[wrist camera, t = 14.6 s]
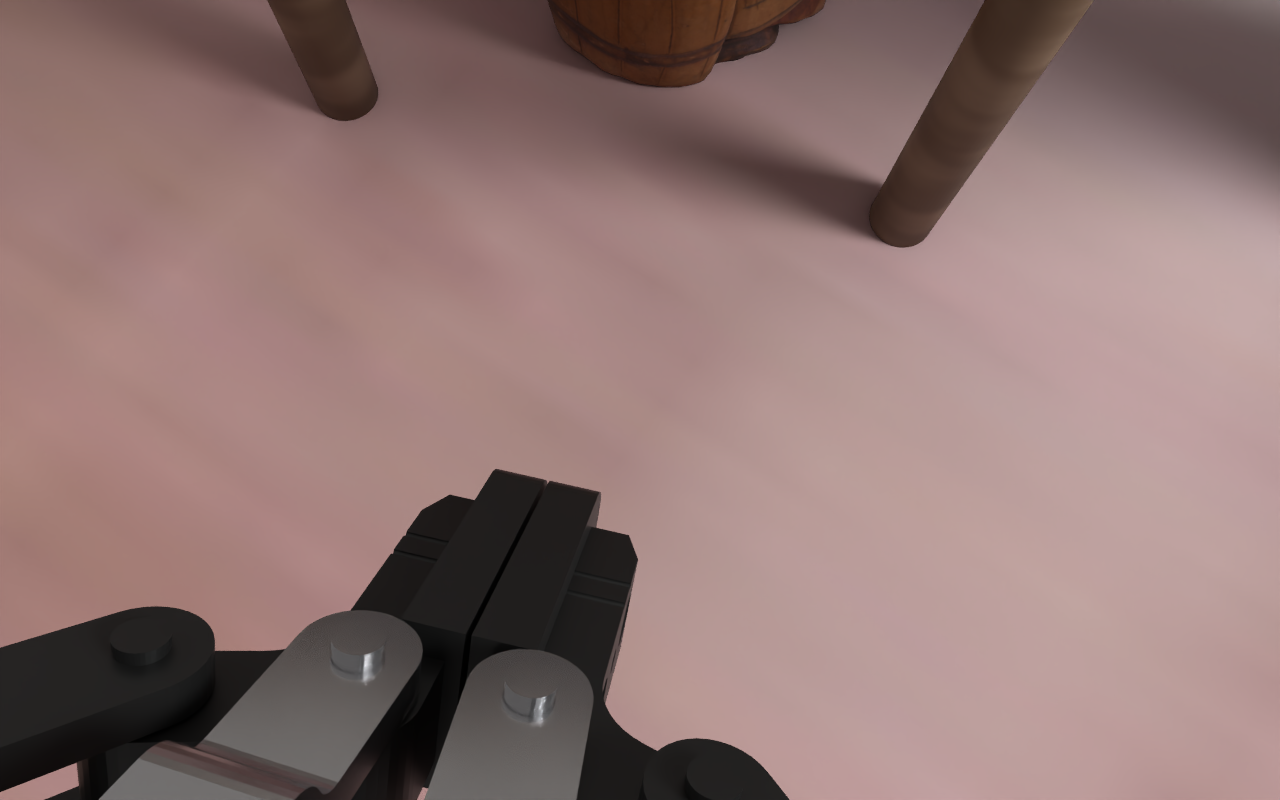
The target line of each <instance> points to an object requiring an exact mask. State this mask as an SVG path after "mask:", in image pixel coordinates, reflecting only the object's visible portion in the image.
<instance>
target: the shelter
mask: <svg viewBox="0 0 1280 800" xmlns="http://www.w3.org/2000/svg"><path fill="white" fill-rule="evenodd" d="M1093 1H1094V0H985V1H984V3H983V5H982V7H981V9H980V10H979V12H978V14H977V16H976V18H975V19H974V21H973V23H972V25H971V27H970V28H969V30H968V32H967V34H966V36H965V38H964V39H963V41H962V43H961V45H960V47H959V48H958V50H957V52H956V54H955V56H954V57H953V59H952V61H951V63H950V65H949V66H948V68H947V70H946V72H945V74H944V76H943V77H942V79H941V81H940V83H939V85H938V86H937V88H936V90H935V92H934V94H933V95H932V97H931V99H930V101H929V103H928V105H927V106H926V108H925V110H924V112H923V114H922V115H921V117H920V119H919V121H918V123H917V124H916V126H915V128H914V130H913V132H912V134H911V135H910V137H909V139H908V141H907V143H906V144H905V146H904V148H903V150H902V152H901V153H900V155H899V157H898V159H897V161H896V163H895V164H894V166H893V168H892V170H891V172H890V173H889V175H888V177H887V179H886V181H885V182H884V184H883V186H882V188H881V190H880V192H879V193H878V195H877V197H876V199H875V201H874V202H873V204H872V206H871V209H870V214H869V219H870V224H871V227H872V229H873V231H874V232H875V234H876V235H877V236H878V237H879V238H880V239H881V240H883V241H884V242H886V243H887V244H890V245H892V246H896V247H911V246H914V245H916V244H918V243H920V242H922V241H923V240H924V239H925V238H926V237H927V235H928V234H929V232H930V231H931V230H932V228H933V227H934V225H935V224H936V223H937V221H938V220H939V218H940V217H941V215H942V214H943V213H944V211H945V210H946V208H947V207H948V206H949V204H950V203H951V201H952V200H953V199H954V197H955V196H956V194H957V193H958V192H959V190H960V189H961V187H962V186H963V184H964V183H965V182H966V180H967V179H968V177H969V176H970V175H971V173H972V172H973V170H974V169H975V168H976V166H977V165H978V163H979V162H980V160H981V159H982V158H983V156H984V155H985V153H986V152H987V151H988V149H989V148H990V146H991V145H992V144H993V142H994V141H995V139H996V138H997V136H998V135H999V134H1000V132H1001V131H1002V129H1003V128H1004V127H1005V125H1006V124H1007V122H1008V121H1009V120H1010V118H1011V117H1012V115H1013V114H1014V112H1015V111H1016V110H1017V108H1018V107H1019V105H1020V104H1021V103H1022V101H1023V100H1024V98H1025V97H1026V96H1027V94H1028V93H1029V91H1030V90H1031V89H1032V87H1033V86H1034V84H1035V83H1036V81H1037V80H1038V79H1039V77H1040V76H1041V74H1042V73H1043V72H1044V70H1045V69H1046V67H1047V66H1048V65H1049V63H1050V62H1051V60H1052V59H1053V57H1054V56H1055V55H1056V53H1057V52H1058V50H1059V49H1060V48H1061V46H1062V45H1063V43H1064V42H1065V41H1066V39H1067V38H1068V36H1069V35H1070V33H1071V32H1072V31H1073V29H1074V28H1075V26H1076V25H1077V24H1078V22H1079V21H1080V19H1081V18H1082V17H1083V15H1084V14H1085V12H1086V11H1087V10H1088V8H1089V7H1090V5H1091V4H1092V2H1093ZM268 3H269V5H270V7H271V9H272V11H273V13H274V15H275V17H276V19H277V21H278V23H279V25H280V28H281V30H282V32H283V34H284V36H285V38H286V40H287V42H288V44H289V46H290V48H291V50H292V52H293V55H294V57H295V59H296V61H297V63H298V65H299V67H300V69H301V71H302V73H303V75H304V77H305V79H306V82H307V84H308V86H309V88H310V90H311V92H312V94H313V96H314V98H315V100H316V102H317V104H318V106H319V108H320V109H321V111H322V112H323V113H324V114H326V115H327V116H329V117H331V118H333V119H336V120H342V121H348V120H354V119H357V118H360V117H362V116H364V115H365V114H367V113H368V112H369V111H370V110H371V109H372V108H373V106H374V105H375V103H376V101H377V97H378V88H377V84H376V82H375V79H374V76H373V73H372V71H371V68H370V65H369V63H368V60H367V57H366V54H365V52H364V49H363V46H362V44H361V41H360V38H359V35H358V33H357V30H356V27H355V25H354V22H353V19H352V16H351V14H350V11H349V8H348V6H347V3H346V0H268Z"/></svg>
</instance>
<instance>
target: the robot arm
mask: <svg viewBox="0 0 1280 800" xmlns="http://www.w3.org/2000/svg"><path fill="white" fill-rule="evenodd" d="M600 501H601V492H597V491H593V490H589V489H584V488H580V487H575V486H571V485H566V484H562V483H558V482H553V481H549V483H548V484H547V481H546V480H543V479H539V478H535V477H530V476H526V475H521V474H517V473H512V472H508V471H504V470H499V469H495V470H494V471H493V472H492V474H491V475H490V477H489V478H488V480H487V482H486V483H485V485H484V486H483V488H482V490H481V491H480V493H479V494H478V496H477V498H476V499H475V500H471V499H467V498H462V497H458V496H454V495H448V496H447V497H445V498H443V499H441V500H439V501H437V502H436V503H434V504H432V505H430V506H428V507H427V508H425V509H423V510H422V511H421V512H420V514H419V515H418V516H417V518H416V519H415V521H414V522H413V523H412V525H411V526H410V528H409V529H408V530H407V533H406V536H403V537H402V539H401V540H400V542H399V543H398V544H397V546H396V547H395V549H394V552H393V554H390V556H389V557H388V559H387V560H386V561H385V563H384V564H383V566H382V567H381V568H380V570H379V571H378V573H377V574H376V575H375V577H374V578H373V580H372V581H371V582H370V584H369V585H368V587H367V588H366V590H365V591H364V592H363V594H362V595H361V597H360V598H359V599H358V601H357V602H356V604H355V605H354V606H353V608H352V609H351V611H344V612H340V613H335V614H332V615H329V616H326V617H323V618H321V619H319V620H317V621H315V622H313V623H312V624H310V625H309V626H307V627H306V628H305V629H304V630H303V631H302V632H301V633H300V634H299V635H298V636H297V637H296V638H295V639H294V640H293V641H292V642H291V644H290V645H289V646H288V647H287V648H286V649H283V650H275V651H215V638H214V634H213V631H212V629H211V627H210V626H209V625H208V624H207V623H206V622H205V621H204V620H203V619H202V618H200V617H199V616H197V615H195V614H193V613H191V612H188V611H185V610H181V609H177V608H171V607H156V606H155V607H141V608H135V609H129V610H125V611H121V612H118V613H114V614H111V615H108V616H104V617H101V618H98V619H94V620H91V621H88V622H84V623H81V624H78V625H74V626H71V627H68V628H64V629H61V630H58V631H54V632H51V633H48V634H44V635H41V636H38V637H34V638H31V639H28V640H25V641H21V642H18V643H15V644H11V645H8V646H5V647H1V648H0V792H1V791H4V790H7V789H9V788H12V787H14V786H17V785H20V784H22V783H25V782H27V781H30V780H33V779H35V778H38V777H40V776H43V775H46V774H48V773H51V772H53V771H56V770H59V769H61V768H64V767H66V766H69V765H71V764H74V763H77V770H78V781H79V786H78V787H75V788H73V789H70V790H68V791H65V792H63V793H60V794H58V795H55V796H53V797H50V798H48V799H45V800H417V798H418V796H419V794H420V792H421V790H422V787H425V788H428V791H427V794H426V796H425V799H424V800H789V798H788V797H787V796H786V795H785V793H784V792H783V791H782V790H781V788H780V787H779V786H778V785H777V783H776V782H775V781H774V780H773V778H772V777H771V776H770V775H769V773H768V772H767V771H766V770H765V769H764V768H763V767H762V766H761V764H760V763H758V762H757V761H756V760H755V759H753V758H752V757H751V756H750V755H748V754H746V753H745V752H743V751H742V750H740V749H738V748H735V747H733V746H731V745H728V744H725V743H722V742H719V741H714V740H710V739H698V738H696V739H685V740H680V741H676V742H673V743H671V744H668V745H666V746H664V747H663V748H661V749H660V750H658V751H656V750H654V749H652V748H651V747H649V746H647V745H645V744H643V743H641V742H640V741H638V740H637V739H635V738H633V737H632V736H631V735H629V734H628V733H627V732H625V731H624V730H623V729H622V728H621V727H620V726H619V725H618V724H617V723H616V722H615V720H614V719H613V718H612V716H611V715H610V713H609V711H608V709H607V707H606V705H605V702H606V698H607V695H608V691H609V688H610V684H611V680H612V676H613V673H614V669H615V666H616V662H617V658H618V655H619V651H620V647H621V642H622V637H623V632H624V627H625V622H626V617H627V612H628V607H629V602H630V597H631V592H632V587H633V582H634V577H635V572H636V567H637V562H638V558H637V556H636V553H635V550H634V548H633V545H632V542H631V540H630V537H629V535H625V534H621V533H616V532H612V531H608V530H603V529H599V528H596V525H597V520H598V514H599V508H600Z"/></svg>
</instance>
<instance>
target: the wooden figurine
mask: <svg viewBox="0 0 1280 800" xmlns="http://www.w3.org/2000/svg"><path fill="white" fill-rule="evenodd" d="M825 1H826V0H548V2H549V6H550V9H551V12H552V15H553V19H554V23H555V25H556V27H557V30H558V32H559V34H560V36H561V37H562V38H563V40H564V41H565V42H566V43H567V44H568V45H569V46H570V47H572V48H573V49H574V50H575V51H577V52H579V53H580V54H582V55H583V56H585V57H586V58H587V59H589V60H590V61H591V62H593V63H594V64H595V65H597V66H598V67H599V68H600V69H602V70H603V71H605V72H608V73H610V74H612V75H617V76H620V77H623V78H625V79H628V80H630V81H633V82H635V83H638V84H645V85H655V86H662V87H668V86H672V87H682V86H688V85H692V84H695V83H699V82H701V81H703V80H704V79H705V78H706V77H707V75H708V74H709V73H710V72H711V70H712V68H713V66H714V64H715V63H719V62H724V61H733V60H738V59H740V58H743V57H744V56H746V55H749V54H753V53H757V52H761V51H763V50H766V49H768V48H769V47H770V46H771V45H772V44H773V43H774V42H775V40H776V37H777V35H778V28H779V24H788V23H796V22H798V21H800V20H803V19H805V18H807V17H811V16H813V15H815V14H816V13H817V12H818V11H820V10H821V9H823V7H824V4H825Z"/></svg>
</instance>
